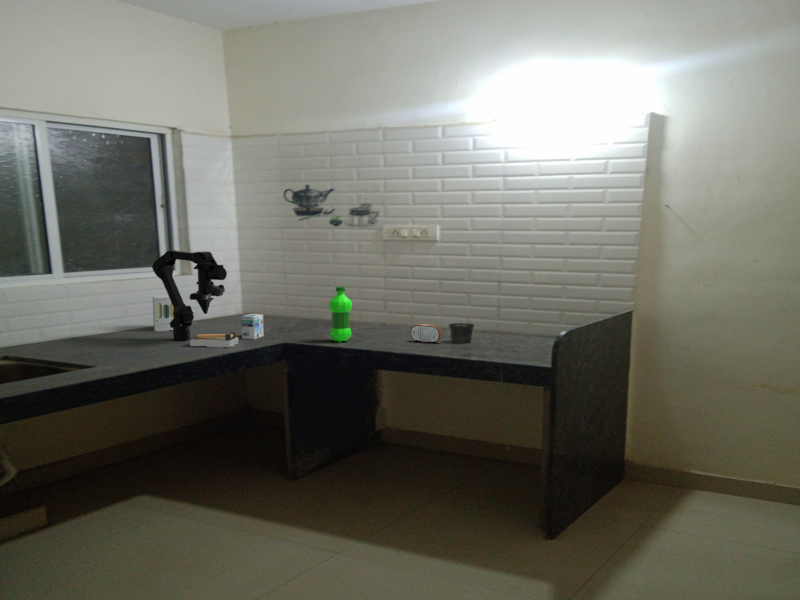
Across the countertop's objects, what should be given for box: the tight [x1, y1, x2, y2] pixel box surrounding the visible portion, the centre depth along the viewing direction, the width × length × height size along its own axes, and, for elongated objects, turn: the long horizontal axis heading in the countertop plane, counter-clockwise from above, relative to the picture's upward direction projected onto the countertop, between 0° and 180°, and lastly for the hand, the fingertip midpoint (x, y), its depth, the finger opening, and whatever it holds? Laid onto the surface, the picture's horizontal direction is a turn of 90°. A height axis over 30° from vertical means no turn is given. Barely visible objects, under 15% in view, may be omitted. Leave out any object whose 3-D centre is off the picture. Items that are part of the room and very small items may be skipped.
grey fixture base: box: [189, 331, 239, 348], centre depth 280 cm, size 18×10×6 cm, turn 82°
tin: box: [409, 323, 443, 343], centre depth 289 cm, size 15×3×8 cm, turn 65°
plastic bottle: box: [328, 286, 353, 343], centre depth 290 cm, size 10×10×25 cm
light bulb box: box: [241, 313, 264, 340], centre depth 301 cm, size 11×7×11 cm, turn 168°
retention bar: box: [197, 333, 233, 338], centre depth 280 cm, size 16×3×1 cm, turn 82°
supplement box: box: [152, 294, 174, 332], centre depth 327 cm, size 13×13×18 cm
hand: (205, 313), depth 287 cm, fingers closed
